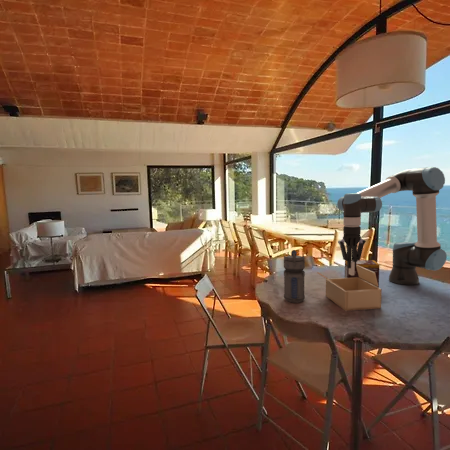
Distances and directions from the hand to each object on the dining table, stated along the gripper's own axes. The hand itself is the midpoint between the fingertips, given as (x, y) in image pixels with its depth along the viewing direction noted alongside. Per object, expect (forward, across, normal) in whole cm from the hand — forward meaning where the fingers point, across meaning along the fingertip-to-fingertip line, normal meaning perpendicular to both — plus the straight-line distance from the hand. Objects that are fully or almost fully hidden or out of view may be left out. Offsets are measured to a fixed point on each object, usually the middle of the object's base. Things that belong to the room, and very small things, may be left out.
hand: (351, 274), depth 144 cm
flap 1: (+4, +8, 0) cm, 9 cm away
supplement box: (+14, -14, -16) cm, 25 cm away
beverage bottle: (+14, +26, -8) cm, 30 cm away
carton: (+14, 0, 0) cm, 14 cm away
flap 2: (+4, -8, 0) cm, 9 cm away
